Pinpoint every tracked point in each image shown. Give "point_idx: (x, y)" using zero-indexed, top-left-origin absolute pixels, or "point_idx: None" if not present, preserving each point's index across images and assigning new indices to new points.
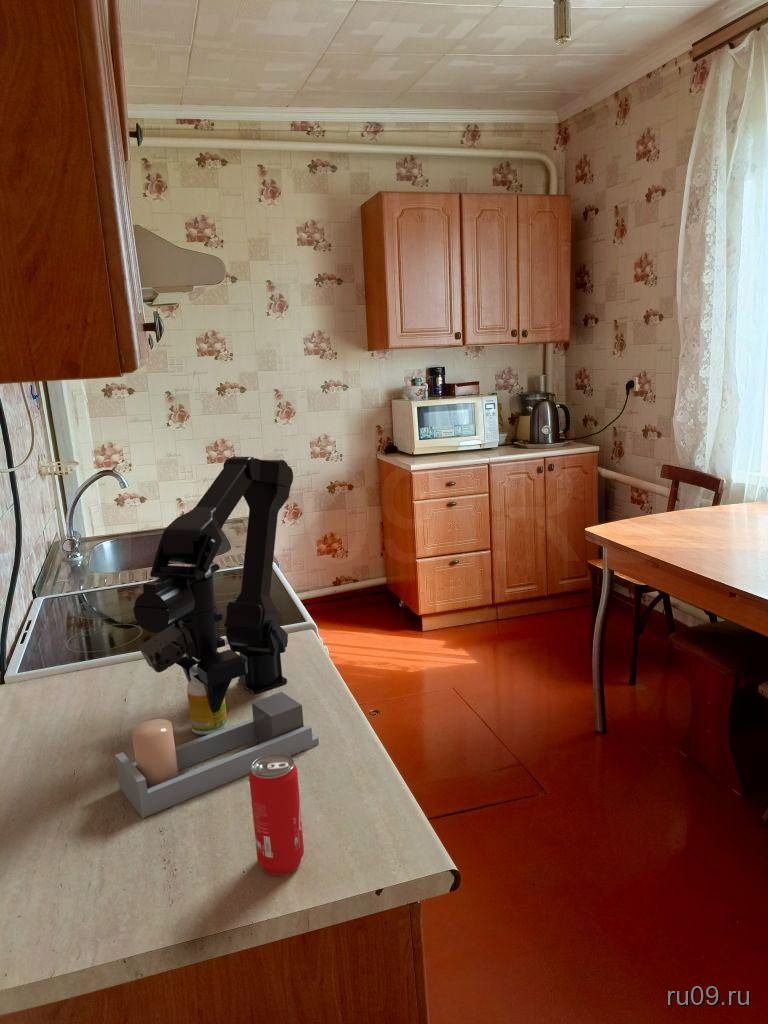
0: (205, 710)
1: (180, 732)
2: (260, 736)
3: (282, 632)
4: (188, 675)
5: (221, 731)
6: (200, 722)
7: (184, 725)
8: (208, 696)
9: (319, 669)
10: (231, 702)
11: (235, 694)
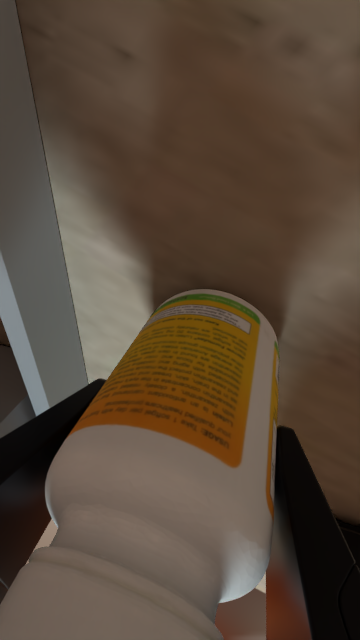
0: (111, 373)
1: (292, 262)
2: (13, 368)
3: None
4: (308, 611)
5: (13, 319)
6: (151, 322)
7: (332, 305)
8: (10, 440)
9: (264, 584)
10: (318, 464)
11: (352, 496)
